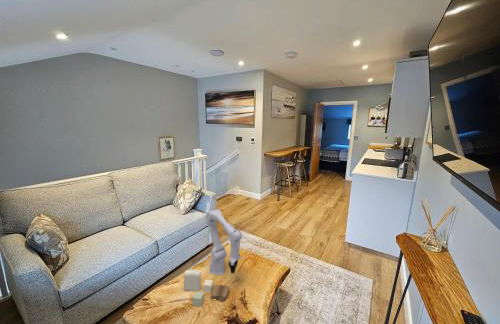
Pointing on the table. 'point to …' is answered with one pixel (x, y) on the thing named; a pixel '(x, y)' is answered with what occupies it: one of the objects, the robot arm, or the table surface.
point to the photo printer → (192, 280)
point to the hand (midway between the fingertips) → (234, 269)
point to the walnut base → (220, 292)
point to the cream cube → (208, 286)
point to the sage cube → (198, 298)
